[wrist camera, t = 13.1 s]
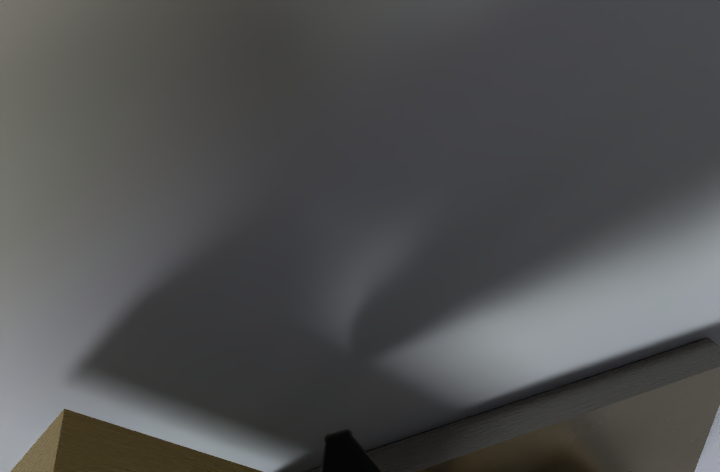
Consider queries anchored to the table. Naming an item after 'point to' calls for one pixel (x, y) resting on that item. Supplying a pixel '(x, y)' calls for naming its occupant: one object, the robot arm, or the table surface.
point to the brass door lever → (112, 450)
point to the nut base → (583, 424)
